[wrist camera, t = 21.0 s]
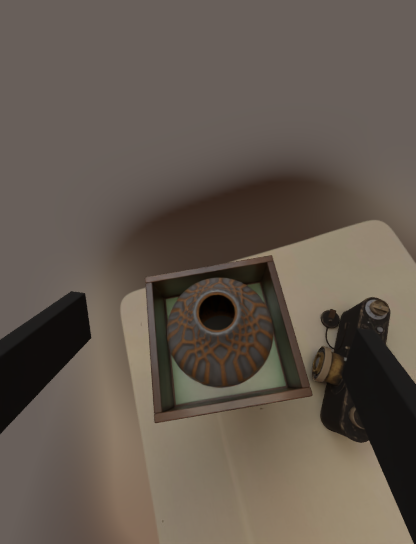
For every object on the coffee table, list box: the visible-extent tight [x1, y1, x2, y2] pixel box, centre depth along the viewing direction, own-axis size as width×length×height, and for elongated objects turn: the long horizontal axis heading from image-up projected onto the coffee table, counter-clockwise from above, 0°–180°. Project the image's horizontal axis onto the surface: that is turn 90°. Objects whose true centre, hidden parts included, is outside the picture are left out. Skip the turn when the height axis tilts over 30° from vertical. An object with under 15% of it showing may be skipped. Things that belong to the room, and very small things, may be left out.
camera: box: [312, 297, 390, 443], centre depth 32 cm, size 16×7×8 cm, turn 158°
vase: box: [167, 278, 273, 388], centre depth 17 cm, size 7×7×9 cm
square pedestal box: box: [145, 255, 312, 423], centre depth 27 cm, size 10×10×22 cm
